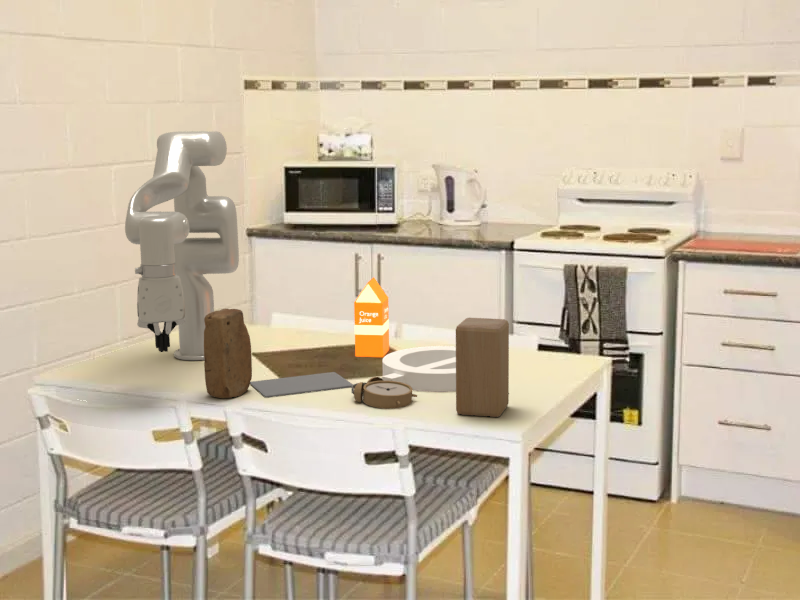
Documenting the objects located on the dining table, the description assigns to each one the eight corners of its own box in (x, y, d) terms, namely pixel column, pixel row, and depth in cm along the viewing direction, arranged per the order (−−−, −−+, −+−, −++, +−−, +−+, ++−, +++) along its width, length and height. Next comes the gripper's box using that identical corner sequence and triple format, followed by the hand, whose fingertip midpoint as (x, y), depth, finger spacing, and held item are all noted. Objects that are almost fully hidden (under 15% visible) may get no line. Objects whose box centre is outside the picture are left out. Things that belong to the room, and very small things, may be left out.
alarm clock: (396, 399, 255) (341, 379, 262) (393, 420, 256) (338, 399, 264) (423, 387, 264) (369, 368, 271) (420, 407, 265) (366, 388, 273)
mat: (248, 383, 280) (248, 381, 280) (334, 373, 289) (334, 371, 289) (265, 397, 268) (265, 396, 268) (354, 386, 276) (354, 385, 276)
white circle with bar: (381, 394, 271) (381, 374, 270) (384, 364, 298) (383, 346, 298) (500, 392, 271) (501, 372, 270) (492, 363, 298) (492, 345, 297)
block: (226, 401, 265) (222, 316, 261) (202, 397, 269) (198, 312, 265) (257, 390, 274) (254, 307, 270) (233, 386, 278) (230, 304, 274)
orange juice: (389, 349, 313) (388, 276, 309) (383, 357, 304) (382, 282, 301) (361, 348, 314) (359, 276, 310) (354, 356, 306) (352, 282, 302)
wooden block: (465, 403, 261) (465, 316, 257) (509, 406, 258) (509, 318, 254) (455, 415, 252) (454, 325, 248) (500, 418, 249) (500, 328, 245)
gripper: (127, 276, 254) (132, 357, 257) (195, 271, 259) (199, 350, 263) (122, 271, 261) (127, 350, 264) (188, 266, 266) (191, 344, 270)
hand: (163, 350), depth 263 cm, fingers closed
